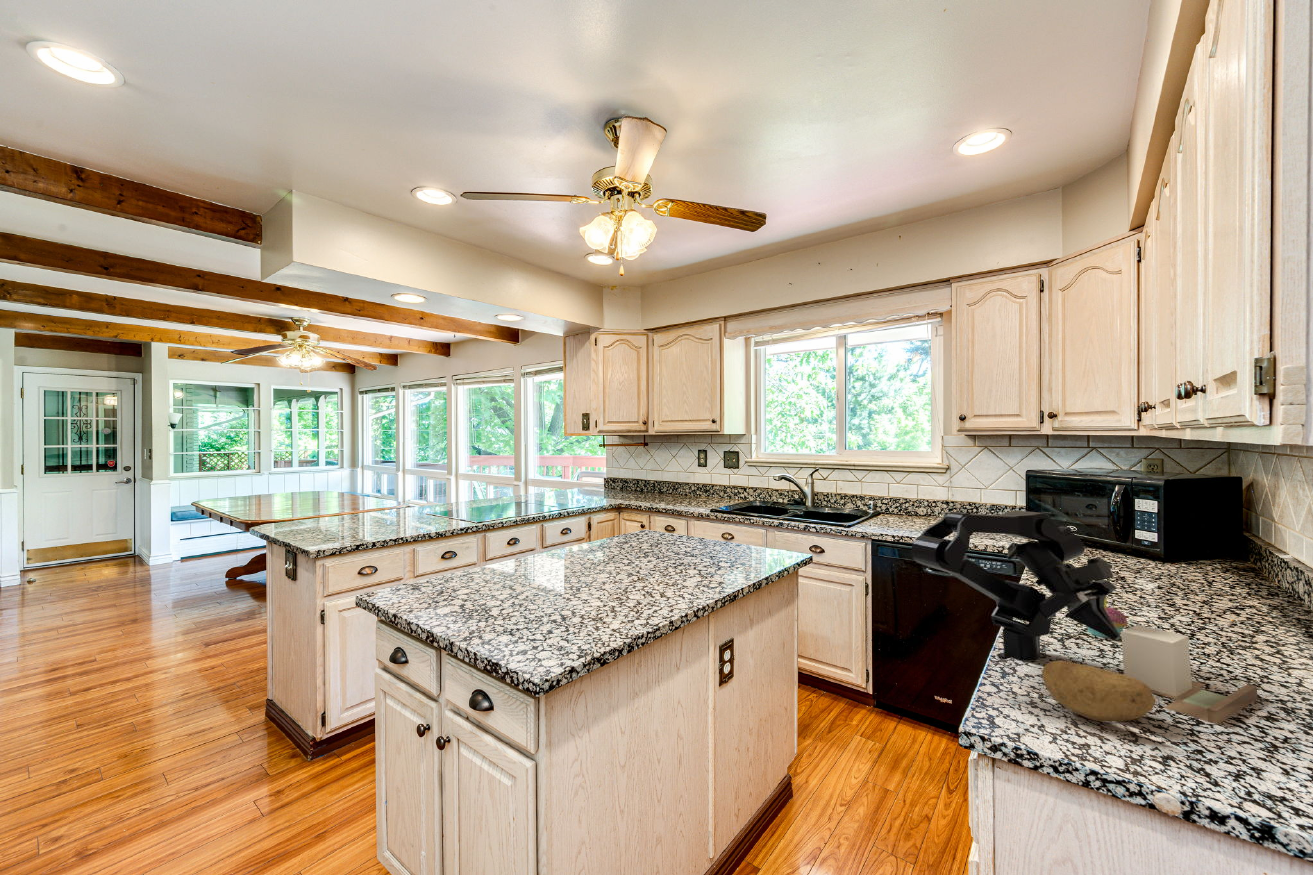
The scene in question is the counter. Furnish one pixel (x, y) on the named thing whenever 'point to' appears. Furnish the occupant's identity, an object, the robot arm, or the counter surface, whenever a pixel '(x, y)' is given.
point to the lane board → (1211, 702)
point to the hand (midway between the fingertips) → (1117, 638)
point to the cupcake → (1115, 617)
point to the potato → (1097, 692)
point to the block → (1157, 659)
